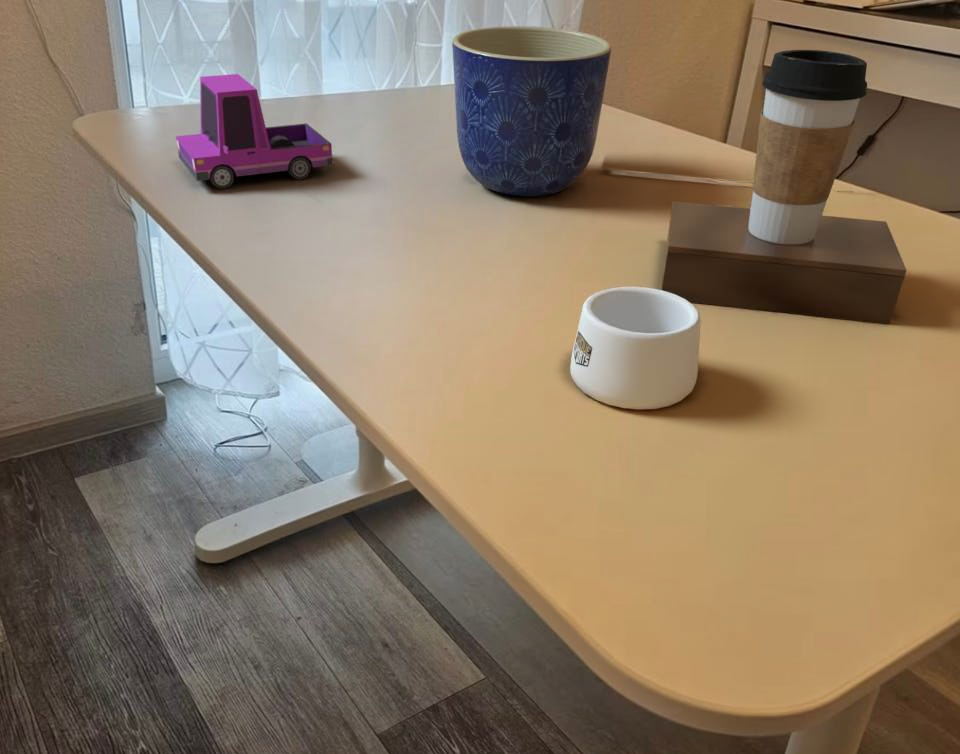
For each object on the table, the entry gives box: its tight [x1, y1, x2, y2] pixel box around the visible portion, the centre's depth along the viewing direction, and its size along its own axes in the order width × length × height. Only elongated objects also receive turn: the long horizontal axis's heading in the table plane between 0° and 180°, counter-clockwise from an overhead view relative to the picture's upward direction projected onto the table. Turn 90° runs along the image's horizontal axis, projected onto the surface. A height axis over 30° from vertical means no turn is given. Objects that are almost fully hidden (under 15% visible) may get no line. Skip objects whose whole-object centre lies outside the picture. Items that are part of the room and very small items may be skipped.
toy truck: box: [175, 73, 334, 190], centre depth 108 cm, size 11×16×10 cm
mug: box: [569, 286, 702, 410], centre depth 72 cm, size 12×10×6 cm
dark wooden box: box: [660, 200, 907, 325], centre depth 88 cm, size 20×12×5 cm, turn 79°
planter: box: [451, 25, 612, 197], centre depth 106 cm, size 17×17×15 cm
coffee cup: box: [748, 49, 868, 245], centre depth 82 cm, size 8×8×15 cm
